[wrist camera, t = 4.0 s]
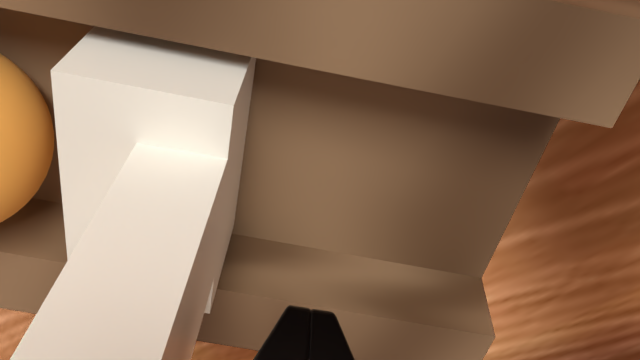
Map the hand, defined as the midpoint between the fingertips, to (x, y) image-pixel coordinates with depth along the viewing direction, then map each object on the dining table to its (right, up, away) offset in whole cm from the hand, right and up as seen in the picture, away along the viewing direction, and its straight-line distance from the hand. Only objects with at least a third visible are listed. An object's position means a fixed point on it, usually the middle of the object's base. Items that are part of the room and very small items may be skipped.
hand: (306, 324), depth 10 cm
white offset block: (-3, +4, +4) cm, 6 cm away
